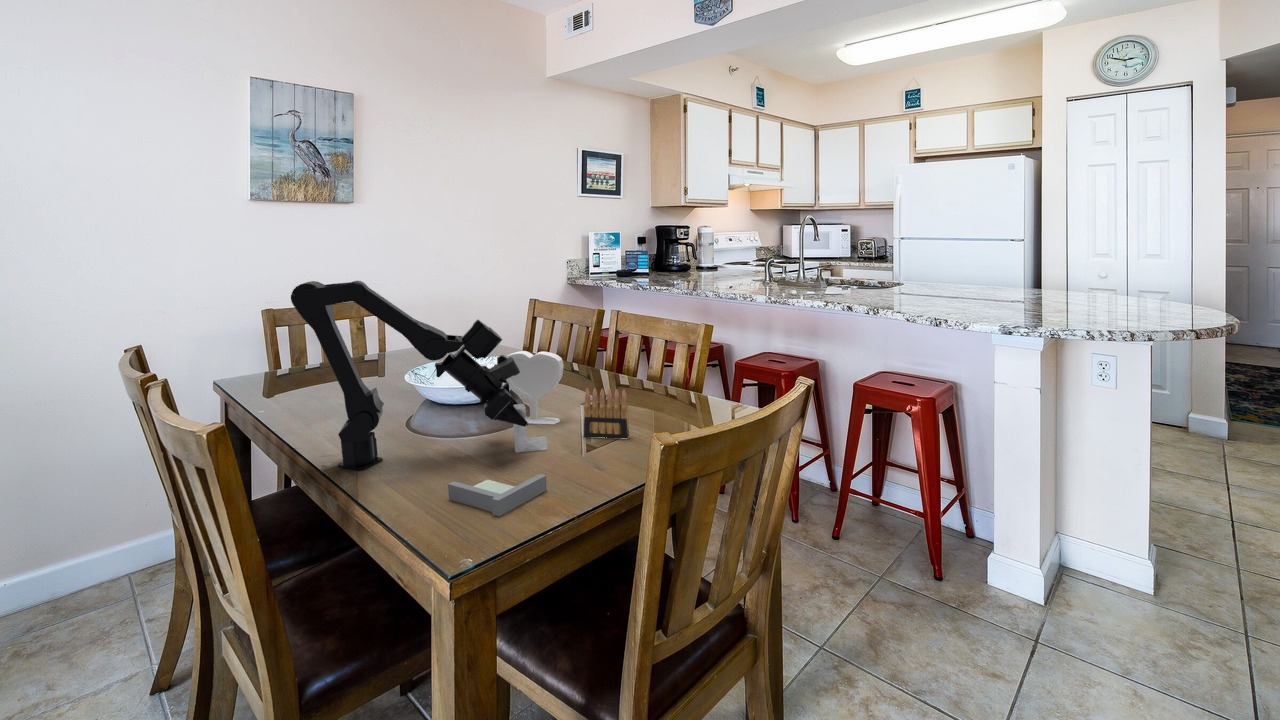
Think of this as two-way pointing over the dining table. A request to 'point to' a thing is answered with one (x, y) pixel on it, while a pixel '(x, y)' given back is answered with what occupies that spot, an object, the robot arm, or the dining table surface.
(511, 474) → the dining table surface
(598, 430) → the ammunition clip
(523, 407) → the white l-shaped block
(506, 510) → the corner bracket
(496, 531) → the dining table surface
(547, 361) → the heart sculpture
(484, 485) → the mat
